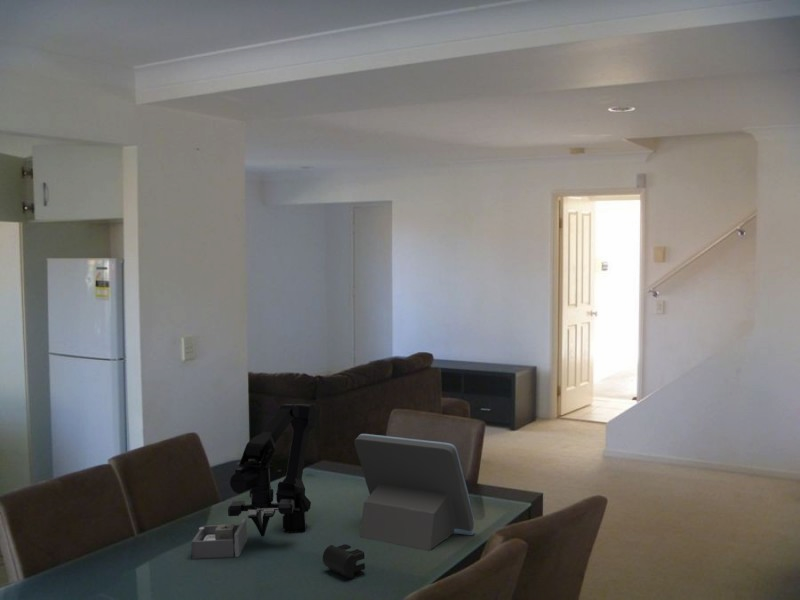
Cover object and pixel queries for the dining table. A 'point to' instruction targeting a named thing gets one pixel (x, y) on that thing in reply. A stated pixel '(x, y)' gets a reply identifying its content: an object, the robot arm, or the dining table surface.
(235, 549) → the tray
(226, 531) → the dice cube
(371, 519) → the touchscreen device
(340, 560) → the end cap
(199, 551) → the housing
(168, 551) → the dining table surface
